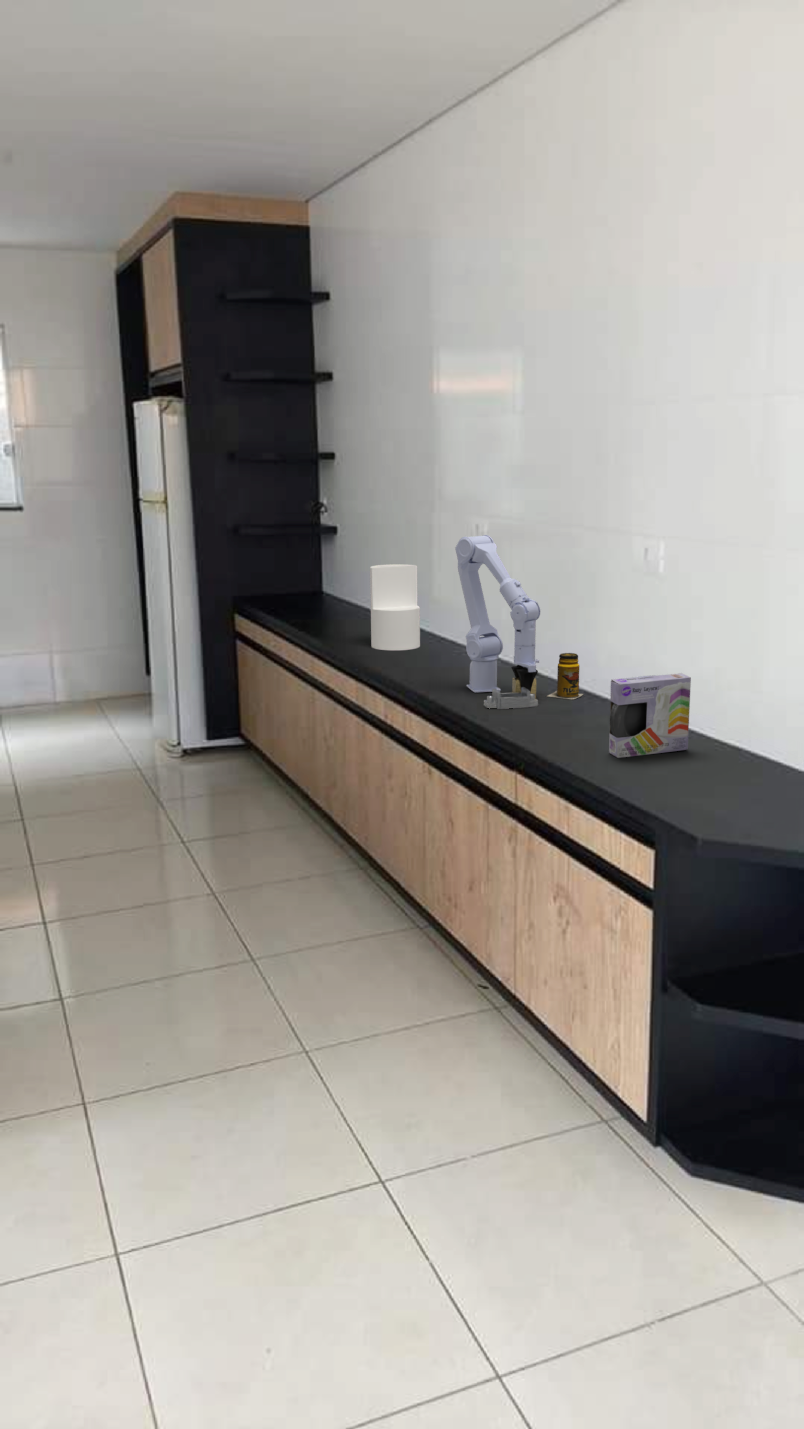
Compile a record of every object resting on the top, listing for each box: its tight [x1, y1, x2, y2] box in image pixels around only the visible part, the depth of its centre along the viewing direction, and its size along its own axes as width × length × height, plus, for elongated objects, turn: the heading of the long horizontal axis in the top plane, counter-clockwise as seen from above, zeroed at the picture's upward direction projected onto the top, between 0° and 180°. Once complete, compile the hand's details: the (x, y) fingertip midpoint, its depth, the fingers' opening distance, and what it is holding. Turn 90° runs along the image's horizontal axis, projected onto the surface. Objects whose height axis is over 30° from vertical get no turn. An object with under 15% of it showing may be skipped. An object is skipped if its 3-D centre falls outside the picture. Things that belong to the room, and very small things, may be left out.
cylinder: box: [369, 563, 421, 651], centre depth 396 cm, size 17×17×28 cm
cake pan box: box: [608, 672, 692, 759], centre depth 256 cm, size 19×5×18 cm, turn 106°
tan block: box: [511, 677, 537, 699], centre depth 314 cm, size 3×6×6 cm, turn 101°
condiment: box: [547, 652, 584, 700], centre depth 316 cm, size 7×8×12 cm
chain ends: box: [483, 687, 539, 710], centre depth 305 cm, size 6×14×4 cm, turn 101°
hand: (524, 692), depth 315 cm, fingers closed on tan block, 3 cm apart
